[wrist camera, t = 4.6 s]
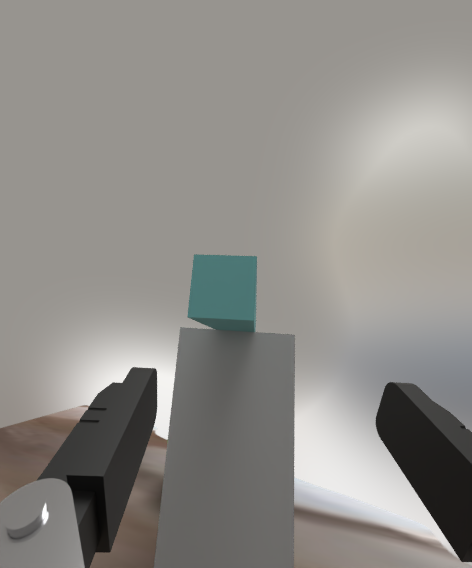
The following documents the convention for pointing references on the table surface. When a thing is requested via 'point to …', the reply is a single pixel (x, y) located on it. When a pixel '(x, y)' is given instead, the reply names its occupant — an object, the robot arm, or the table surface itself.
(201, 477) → the pedestal
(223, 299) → the block
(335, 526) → the table surface
